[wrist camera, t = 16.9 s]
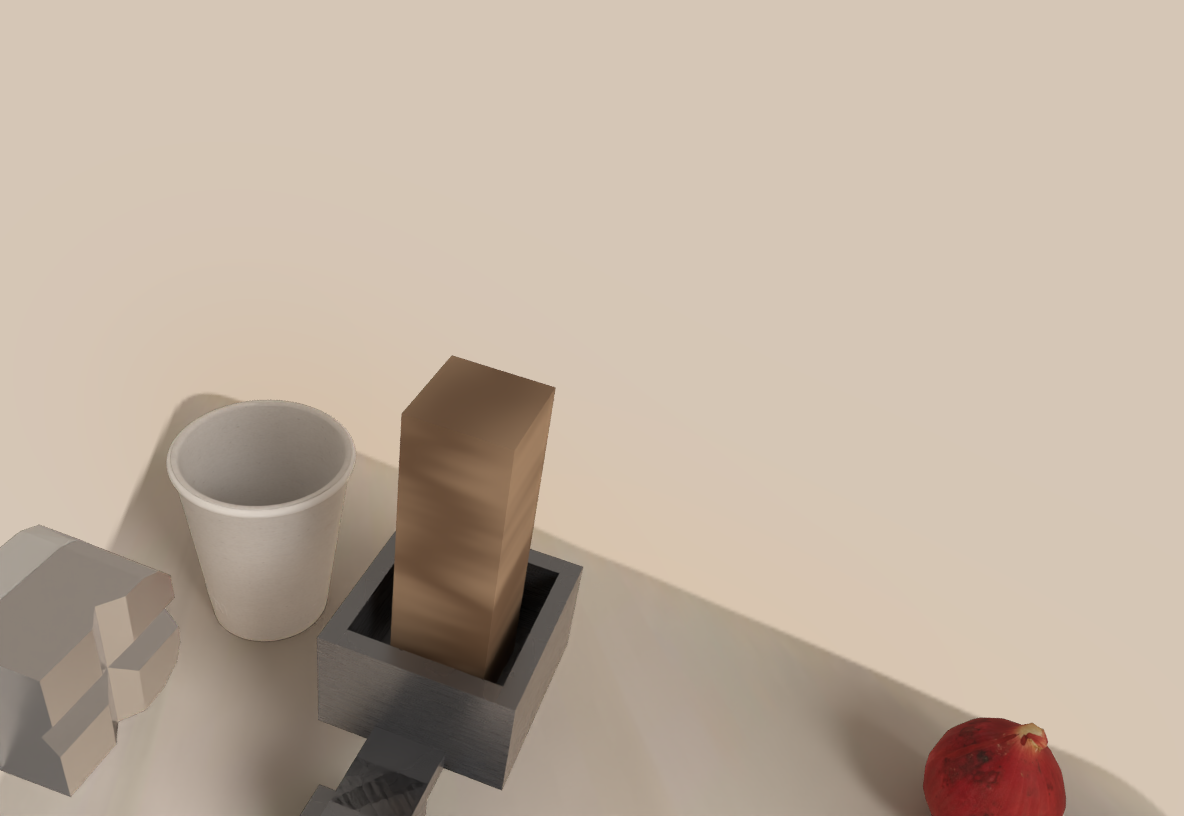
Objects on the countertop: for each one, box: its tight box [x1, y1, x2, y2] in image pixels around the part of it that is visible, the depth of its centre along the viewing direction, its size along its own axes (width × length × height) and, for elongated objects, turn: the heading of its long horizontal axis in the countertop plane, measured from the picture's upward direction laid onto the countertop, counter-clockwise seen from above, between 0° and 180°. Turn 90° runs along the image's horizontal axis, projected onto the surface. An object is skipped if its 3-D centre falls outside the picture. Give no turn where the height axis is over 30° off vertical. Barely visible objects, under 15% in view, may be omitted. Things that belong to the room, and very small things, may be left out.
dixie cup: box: [166, 400, 356, 641], centre depth 49 cm, size 8×8×10 cm
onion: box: [923, 718, 1066, 816], centre depth 44 cm, size 6×6×8 cm
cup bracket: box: [300, 531, 583, 816], centre depth 40 cm, size 8×14×10 cm, turn 162°
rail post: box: [390, 356, 555, 684], centre depth 38 cm, size 4×4×14 cm
